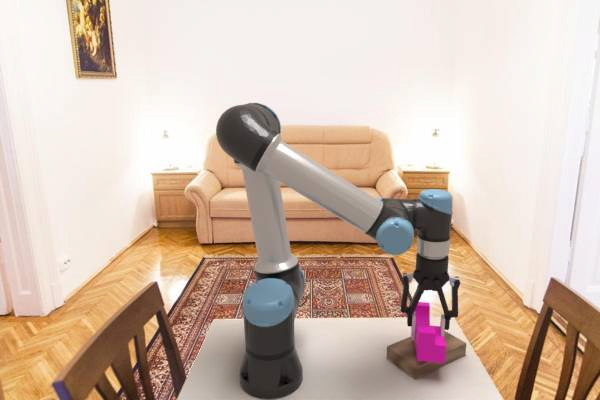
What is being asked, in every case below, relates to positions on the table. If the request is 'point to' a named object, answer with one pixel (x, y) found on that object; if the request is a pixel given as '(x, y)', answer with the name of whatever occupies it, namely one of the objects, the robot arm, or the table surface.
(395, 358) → the walnut base block
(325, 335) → the table surface
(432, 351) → the toy block
